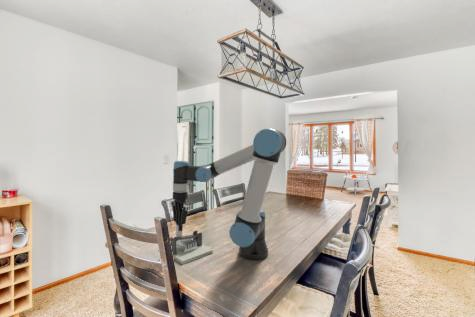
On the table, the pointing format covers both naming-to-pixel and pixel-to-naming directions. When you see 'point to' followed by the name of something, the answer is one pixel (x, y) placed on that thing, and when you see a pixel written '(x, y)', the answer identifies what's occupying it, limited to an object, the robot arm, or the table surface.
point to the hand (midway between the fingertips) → (179, 236)
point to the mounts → (198, 240)
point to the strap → (186, 237)
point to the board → (192, 254)
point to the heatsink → (186, 245)
